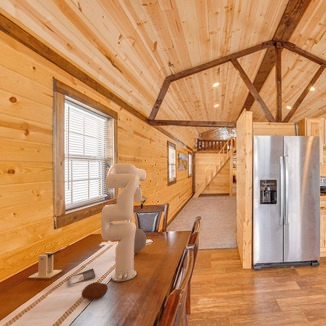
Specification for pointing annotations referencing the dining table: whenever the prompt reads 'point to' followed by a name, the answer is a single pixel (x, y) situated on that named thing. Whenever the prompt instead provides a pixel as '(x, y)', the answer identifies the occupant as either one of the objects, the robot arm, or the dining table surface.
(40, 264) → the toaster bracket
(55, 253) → the lever
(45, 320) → the dining table surface
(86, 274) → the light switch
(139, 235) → the planter
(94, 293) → the potato
